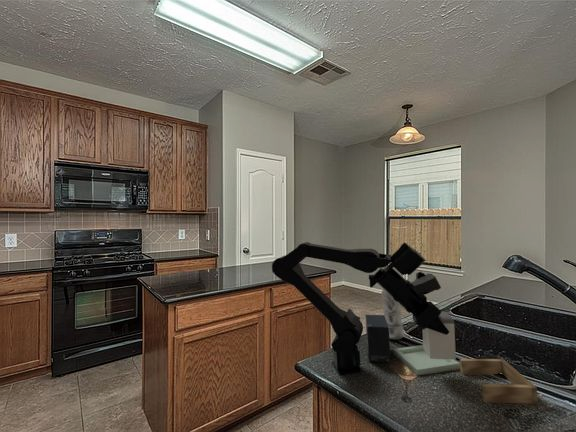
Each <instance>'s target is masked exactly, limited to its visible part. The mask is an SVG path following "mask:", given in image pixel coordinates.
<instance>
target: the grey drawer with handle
mask: <svg viewBox="0 0 576 432" xmlns="http://www.w3.org/2000/svg"><path fill="white" fill-rule="evenodd" d="M438 317H439V319H440V320H441V321H442V323H443V324H444V325H445V327H446V328H447V329H448V331H449V333H448V334H447V335H445V334H442V333H440V332H437V331H434V330H431V329H428V328H425V329H423V330H422V329H421V331H422V345H423V348H424V350H425V351H426V353H427V355H428V356H429V358H430V359H454V360H455V361H457V359H456V357H457V356H456V355H457V354H456V337H455V336H456V335H455V334H456V333H455V320H454V318H453V317H452V316H451V315H450V314H449V313H447V311H445V310H444V311H442V310H441V314H440V315H439V316H438Z"/></svg>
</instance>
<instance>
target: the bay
mask: <svg viewBox="0 0 576 432" xmlns="http://www.w3.org/2000/svg"><path fill="white" fill-rule="evenodd" d="M459 363H460V369H459V370H460V373H461V375H489V376H490V375H491V376H492V375H493V376H494V374H498V373H502V374H503V375H504V376H505V377H506V378H507V379H506V378H505V377H504V376H503V375H502V376H503V377H504V378H505V379H506V380H508V382H509V383H510V384H508V383H507V384H505V383H504V384H502V383H501V384H500V383H499V384H498V383H482V384H481V386H482V387H481V388H482V389H481V391H482V400H483V401H484V403H498V404H502V403H503V404H507V403H508V404H532V405H533V404H536V405H538V404H539V403H538V387H537V386H535V385H534V383H532V382H531V381H530V380H528V379H527V378H526V377H525V376H524V375H522V374H521V373H520V372H519V371H518V370H517V369H515V367H513V366H512V365H511V364H509V362H507V361H506V360H505V359H504V358H492V359H491V358H460V359H459Z"/></svg>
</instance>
